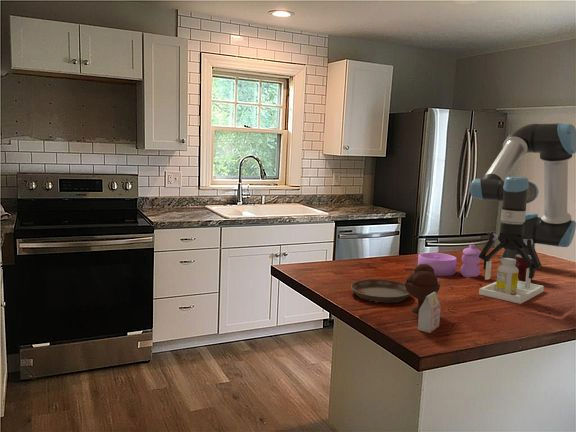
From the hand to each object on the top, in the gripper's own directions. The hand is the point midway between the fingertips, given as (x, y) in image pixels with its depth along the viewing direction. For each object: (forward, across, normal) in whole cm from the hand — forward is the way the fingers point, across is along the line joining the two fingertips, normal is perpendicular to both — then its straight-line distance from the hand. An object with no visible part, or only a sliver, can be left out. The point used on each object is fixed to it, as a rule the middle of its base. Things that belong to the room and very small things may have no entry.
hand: (506, 283), depth 173 cm
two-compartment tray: (+5, 0, +5) cm, 7 cm away
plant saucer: (+6, -30, -32) cm, 44 cm away
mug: (+5, -4, +27) cm, 28 cm away
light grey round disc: (+4, 0, +10) cm, 11 cm away
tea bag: (+6, -3, -48) cm, 48 cm away
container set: (+6, -30, +17) cm, 35 cm away
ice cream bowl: (+5, -12, -37) cm, 39 cm away
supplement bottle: (+5, 0, 0) cm, 5 cm away
